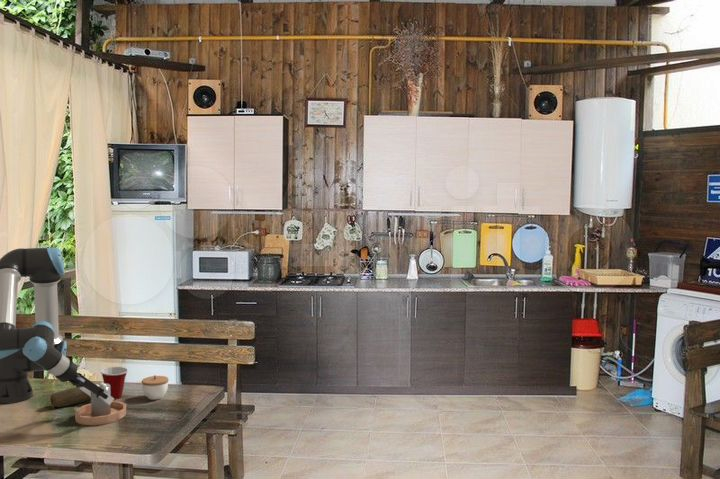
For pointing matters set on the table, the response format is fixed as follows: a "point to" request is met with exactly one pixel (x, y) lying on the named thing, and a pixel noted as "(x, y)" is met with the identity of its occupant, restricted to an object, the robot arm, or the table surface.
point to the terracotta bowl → (85, 416)
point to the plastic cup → (115, 380)
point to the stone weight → (68, 397)
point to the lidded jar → (155, 386)
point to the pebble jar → (100, 402)
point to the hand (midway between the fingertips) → (102, 397)
